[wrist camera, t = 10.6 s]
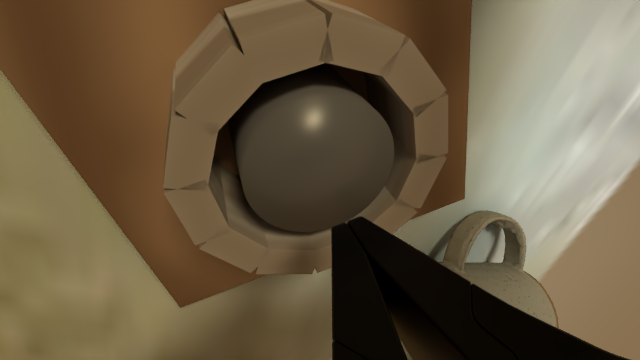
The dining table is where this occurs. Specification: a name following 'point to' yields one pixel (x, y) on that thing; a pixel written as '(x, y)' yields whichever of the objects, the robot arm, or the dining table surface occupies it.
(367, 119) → the smooth gray stone
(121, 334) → the dining table surface
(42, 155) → the dining table surface
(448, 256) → the ceramic mug
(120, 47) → the brown board with ring
